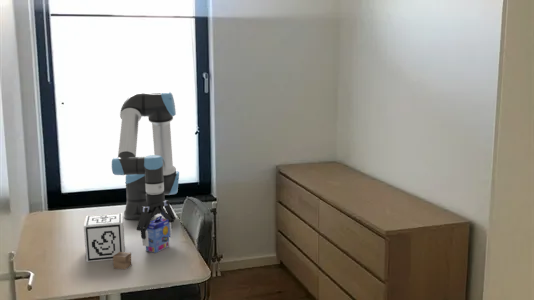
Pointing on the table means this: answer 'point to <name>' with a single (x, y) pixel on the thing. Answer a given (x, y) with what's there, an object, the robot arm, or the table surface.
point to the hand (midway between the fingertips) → (157, 241)
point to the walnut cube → (122, 260)
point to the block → (103, 236)
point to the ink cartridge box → (158, 235)
